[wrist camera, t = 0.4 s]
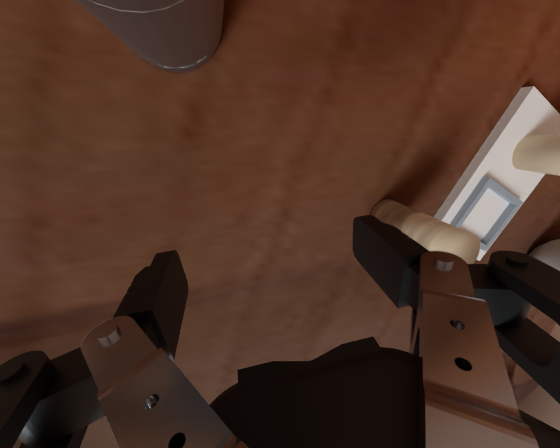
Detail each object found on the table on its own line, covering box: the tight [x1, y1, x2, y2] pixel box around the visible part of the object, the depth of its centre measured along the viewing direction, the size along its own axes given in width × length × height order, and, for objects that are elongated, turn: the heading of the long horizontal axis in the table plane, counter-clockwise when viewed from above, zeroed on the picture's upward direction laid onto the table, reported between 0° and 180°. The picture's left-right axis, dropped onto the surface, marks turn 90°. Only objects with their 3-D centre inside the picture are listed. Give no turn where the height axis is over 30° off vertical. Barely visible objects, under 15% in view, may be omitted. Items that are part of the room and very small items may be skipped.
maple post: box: [370, 199, 480, 264], centre depth 30 cm, size 5×5×12 cm
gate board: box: [434, 86, 560, 261], centre depth 32 cm, size 22×12×14 cm, turn 152°
